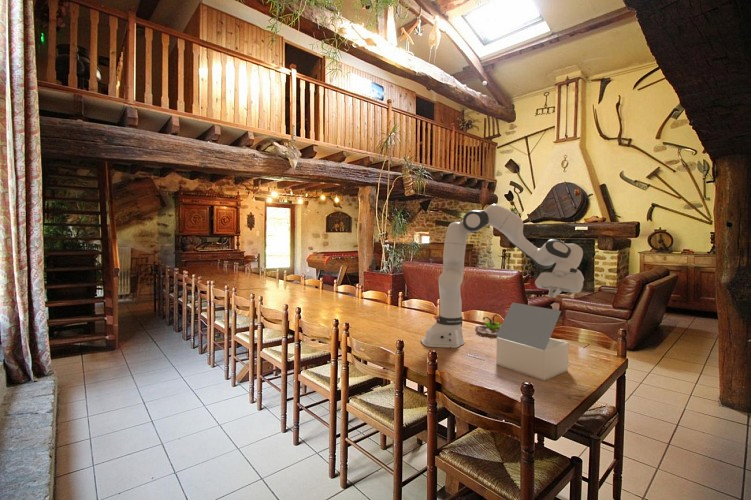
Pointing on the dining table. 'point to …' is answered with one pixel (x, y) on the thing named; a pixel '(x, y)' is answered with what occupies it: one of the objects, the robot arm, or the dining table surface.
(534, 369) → the shipping carton
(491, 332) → the succulent planter
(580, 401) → the dining table surface
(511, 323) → the carton flap
